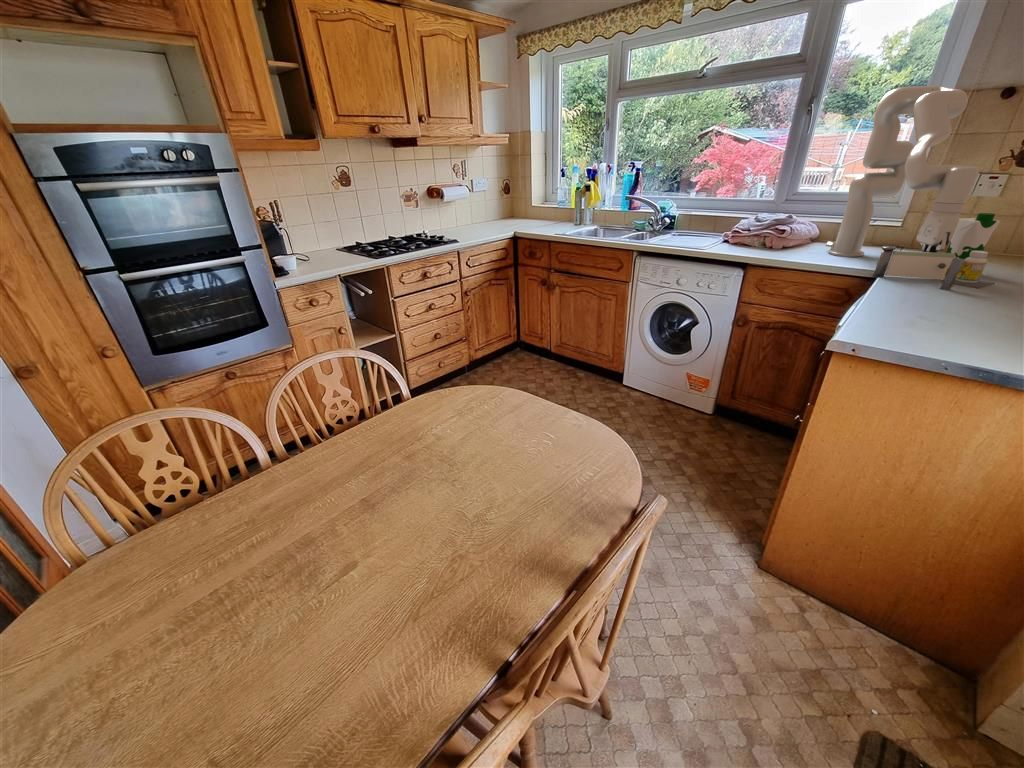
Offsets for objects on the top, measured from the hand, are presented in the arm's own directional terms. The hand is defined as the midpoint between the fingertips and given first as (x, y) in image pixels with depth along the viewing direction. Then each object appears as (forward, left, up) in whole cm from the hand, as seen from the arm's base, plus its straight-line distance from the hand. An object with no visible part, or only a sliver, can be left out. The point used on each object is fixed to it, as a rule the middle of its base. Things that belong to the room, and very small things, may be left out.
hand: (923, 264), depth 150 cm
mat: (+12, +3, -4) cm, 13 cm away
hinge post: (-7, -11, -4) cm, 13 cm away
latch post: (+12, -11, -4) cm, 17 cm away
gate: (+1, -5, -4) cm, 6 cm away
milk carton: (+3, +16, -4) cm, 17 cm away
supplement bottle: (+12, +3, -4) cm, 13 cm away
